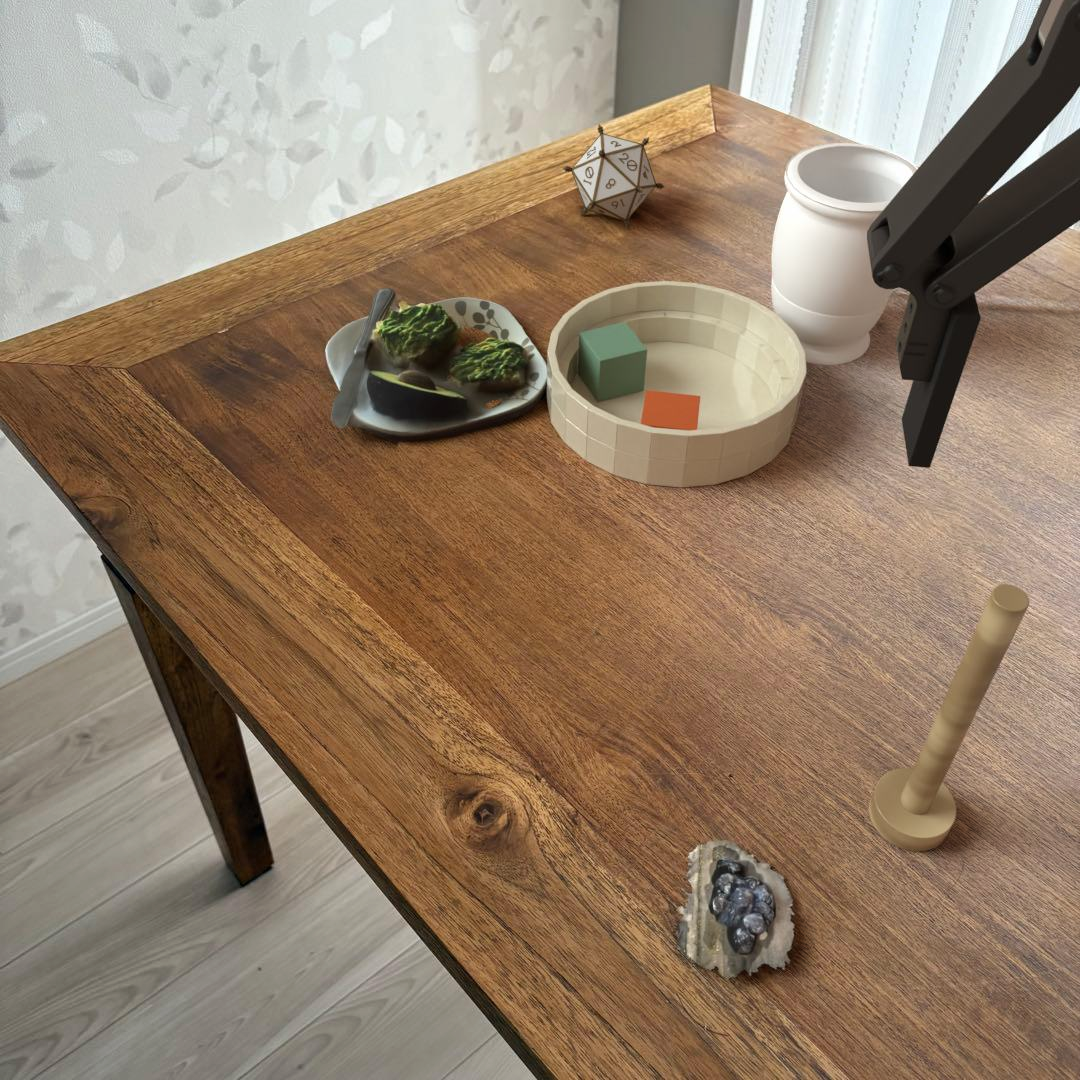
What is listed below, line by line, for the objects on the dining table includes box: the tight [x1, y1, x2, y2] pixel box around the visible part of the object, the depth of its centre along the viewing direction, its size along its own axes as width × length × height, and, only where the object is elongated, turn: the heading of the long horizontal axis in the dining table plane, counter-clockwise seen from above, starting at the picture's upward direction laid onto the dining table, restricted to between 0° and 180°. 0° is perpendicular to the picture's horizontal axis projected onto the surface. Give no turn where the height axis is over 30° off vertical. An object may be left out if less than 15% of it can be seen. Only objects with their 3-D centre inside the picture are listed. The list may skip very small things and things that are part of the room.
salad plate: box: [324, 287, 547, 444], centre depth 89 cm, size 19×18×5 cm
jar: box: [770, 142, 919, 366], centre depth 88 cm, size 11×10×15 cm
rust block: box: [641, 390, 700, 430], centre depth 81 cm, size 4×4×4 cm
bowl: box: [546, 280, 808, 488], centre depth 85 cm, size 19×19×6 cm
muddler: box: [868, 583, 1030, 852], centre depth 55 cm, size 4×4×18 cm
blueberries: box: [675, 838, 795, 980], centre depth 58 cm, size 7×8×2 cm
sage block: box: [578, 322, 647, 402], centre depth 87 cm, size 4×4×4 cm
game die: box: [562, 124, 666, 230], centre depth 105 cm, size 9×8×10 cm
